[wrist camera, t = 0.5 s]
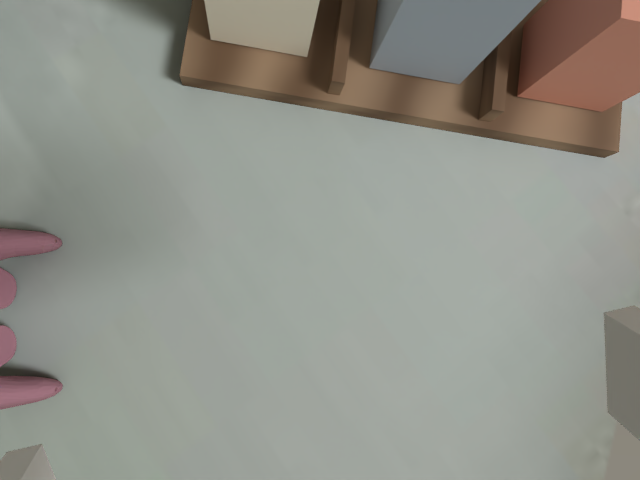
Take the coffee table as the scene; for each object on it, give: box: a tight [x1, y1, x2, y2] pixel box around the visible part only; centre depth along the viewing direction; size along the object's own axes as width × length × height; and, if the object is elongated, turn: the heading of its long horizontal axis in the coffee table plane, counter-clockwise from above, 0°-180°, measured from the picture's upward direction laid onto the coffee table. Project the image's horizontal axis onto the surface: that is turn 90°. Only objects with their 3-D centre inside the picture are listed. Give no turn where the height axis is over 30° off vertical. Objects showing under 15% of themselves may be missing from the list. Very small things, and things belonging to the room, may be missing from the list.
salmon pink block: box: [517, 0, 640, 112], centre depth 31 cm, size 6×5×10 cm
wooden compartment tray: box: [179, 0, 622, 158], centre depth 35 cm, size 29×14×4 cm, turn 82°
